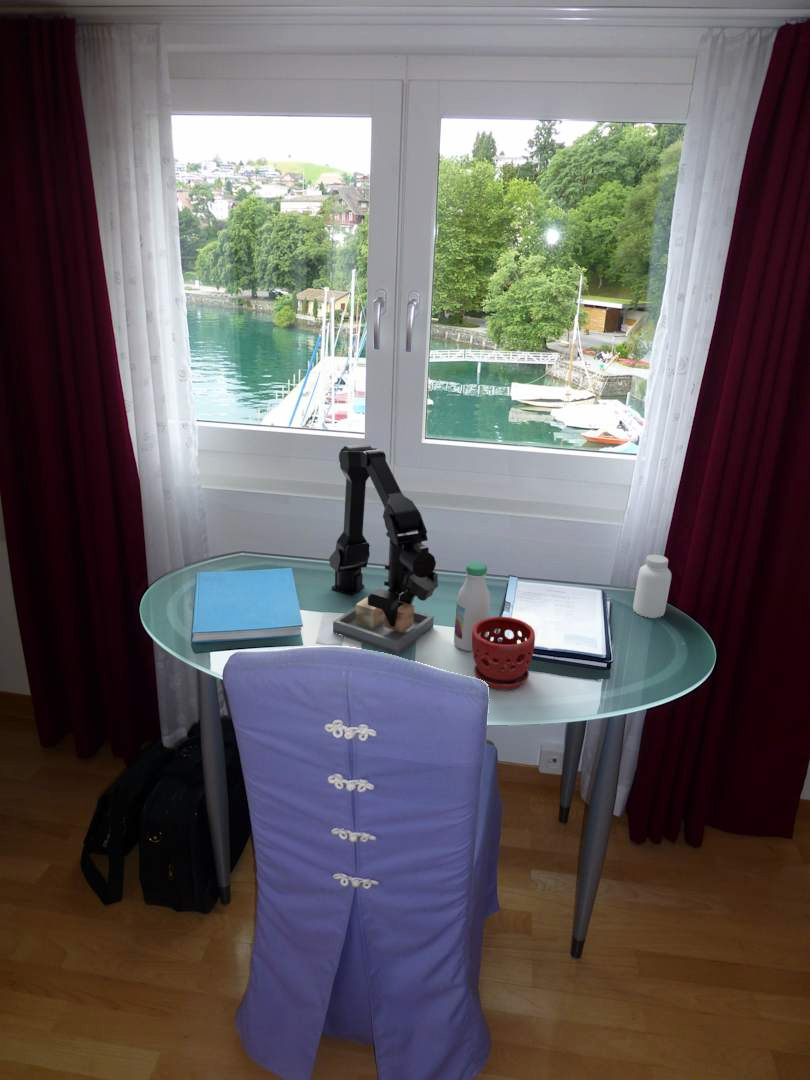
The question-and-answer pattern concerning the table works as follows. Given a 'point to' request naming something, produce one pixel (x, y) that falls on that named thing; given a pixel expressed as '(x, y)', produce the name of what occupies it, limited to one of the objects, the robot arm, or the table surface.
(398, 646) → the charcoal tray
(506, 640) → the plant pot
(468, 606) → the milk bottle
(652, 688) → the table surface
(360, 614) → the birch block
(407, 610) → the terracotta block
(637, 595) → the pill bottle
